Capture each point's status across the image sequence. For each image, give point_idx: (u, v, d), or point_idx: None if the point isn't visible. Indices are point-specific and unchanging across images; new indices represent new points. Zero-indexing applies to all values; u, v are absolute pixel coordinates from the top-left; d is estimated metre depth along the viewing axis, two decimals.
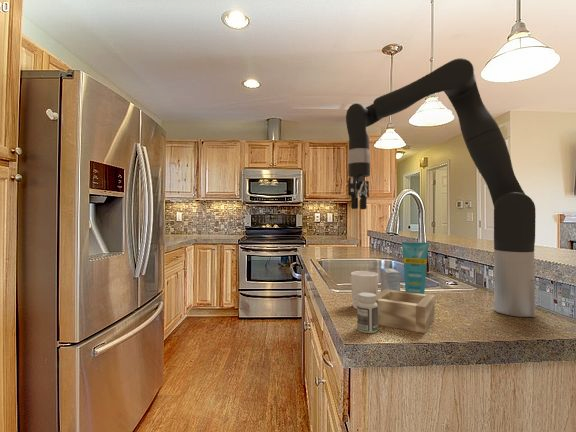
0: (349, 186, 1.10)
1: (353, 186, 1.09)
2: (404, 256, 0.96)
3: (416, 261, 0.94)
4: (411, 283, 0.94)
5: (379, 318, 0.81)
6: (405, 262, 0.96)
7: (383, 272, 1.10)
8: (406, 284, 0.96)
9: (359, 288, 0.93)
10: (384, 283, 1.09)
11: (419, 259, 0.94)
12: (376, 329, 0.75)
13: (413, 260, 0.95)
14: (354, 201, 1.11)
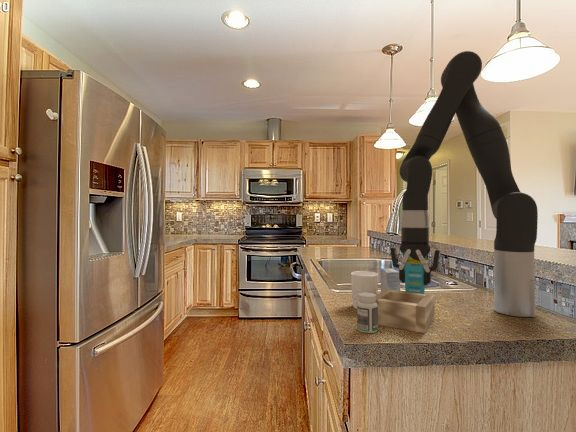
0: (438, 260, 0.92)
1: None
2: None
3: (416, 261, 0.94)
4: (411, 283, 0.94)
5: (379, 318, 0.81)
6: None
7: (383, 272, 1.10)
8: (406, 284, 0.96)
9: (359, 288, 0.93)
10: (384, 283, 1.09)
11: None
12: (376, 329, 0.75)
13: (413, 260, 0.95)
14: (430, 276, 0.94)
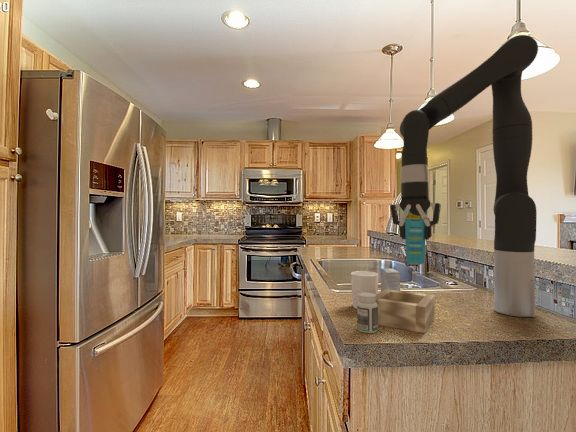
0: (438, 213, 0.91)
1: (439, 214, 0.93)
2: None
3: (416, 216, 0.94)
4: (411, 238, 0.94)
5: (379, 318, 0.81)
6: None
7: (383, 272, 1.10)
8: (407, 240, 0.95)
9: (359, 288, 0.93)
10: (384, 283, 1.09)
11: None
12: (376, 329, 0.75)
13: (413, 216, 0.95)
14: (431, 230, 0.94)
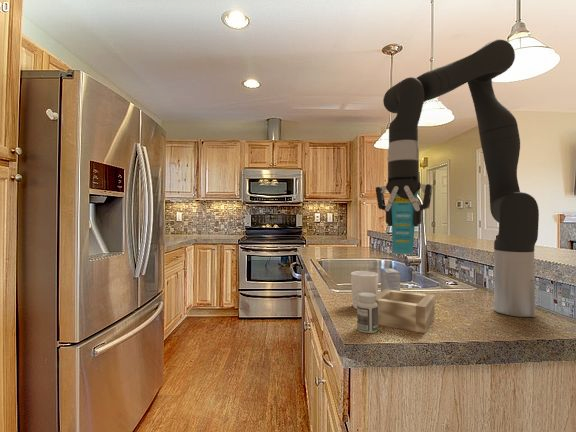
0: (429, 196, 0.80)
1: (430, 197, 0.81)
2: None
3: (404, 199, 0.83)
4: (398, 225, 0.83)
5: (379, 318, 0.81)
6: None
7: (383, 272, 1.10)
8: (393, 227, 0.84)
9: (359, 288, 0.93)
10: (384, 283, 1.09)
11: None
12: (376, 329, 0.75)
13: (401, 199, 0.83)
14: (420, 216, 0.82)
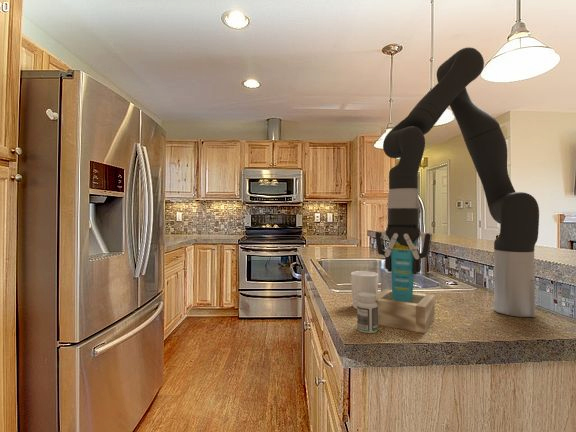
0: (429, 245, 0.80)
1: (430, 245, 0.81)
2: None
3: (404, 246, 0.83)
4: (398, 272, 0.83)
5: (379, 318, 0.81)
6: None
7: (383, 272, 1.10)
8: (393, 273, 0.84)
9: (359, 288, 0.93)
10: (384, 283, 1.09)
11: None
12: (376, 329, 0.75)
13: (401, 246, 0.83)
14: (420, 264, 0.82)
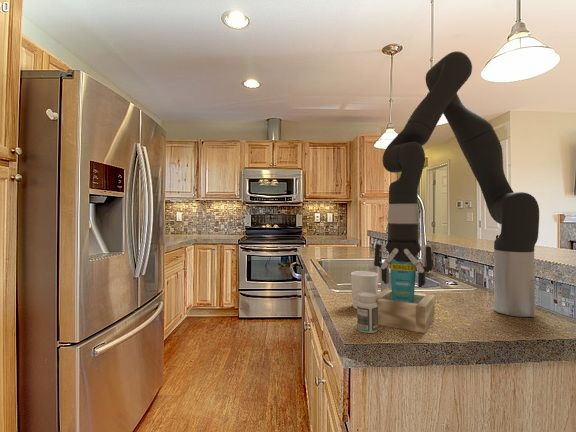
0: (431, 258, 0.79)
1: (432, 257, 0.81)
2: (391, 262, 0.85)
3: (404, 267, 0.83)
4: (398, 292, 0.83)
5: (379, 318, 0.81)
6: (392, 269, 0.84)
7: None
8: (393, 294, 0.84)
9: (359, 288, 0.93)
10: None
11: (408, 266, 0.83)
12: (376, 329, 0.75)
13: (401, 266, 0.83)
14: (425, 277, 0.81)
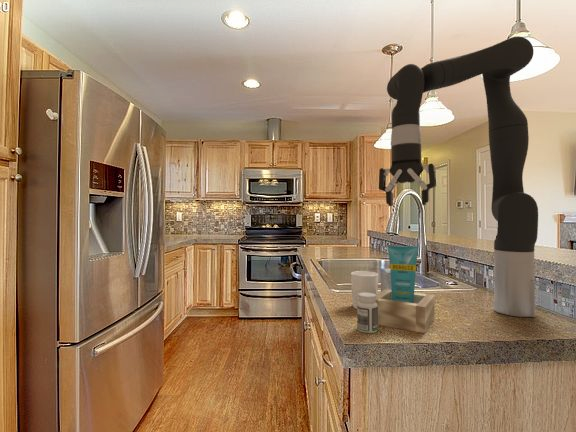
0: (434, 175, 0.83)
1: (435, 175, 0.84)
2: (391, 262, 0.85)
3: (404, 267, 0.83)
4: (398, 292, 0.83)
5: (379, 318, 0.81)
6: (392, 269, 0.84)
7: (383, 272, 1.10)
8: (393, 294, 0.84)
9: (359, 288, 0.93)
10: (384, 283, 1.09)
11: (408, 266, 0.83)
12: (376, 329, 0.75)
13: (400, 267, 0.83)
14: (428, 195, 0.85)
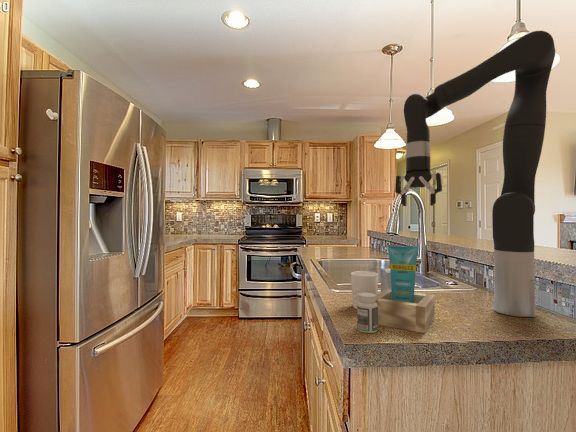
0: (440, 181, 1.04)
1: (441, 182, 1.05)
2: (391, 262, 0.84)
3: (404, 267, 0.83)
4: (398, 292, 0.83)
5: (379, 318, 0.81)
6: (392, 269, 0.84)
7: (383, 272, 1.10)
8: (393, 294, 0.84)
9: (359, 288, 0.93)
10: (384, 283, 1.09)
11: (408, 266, 0.83)
12: (376, 329, 0.75)
13: (400, 267, 0.83)
14: (435, 198, 1.06)
